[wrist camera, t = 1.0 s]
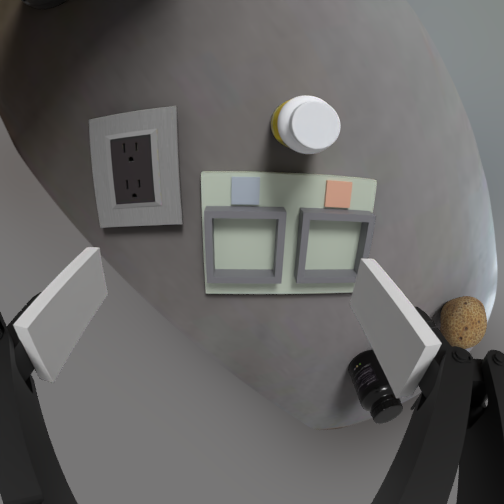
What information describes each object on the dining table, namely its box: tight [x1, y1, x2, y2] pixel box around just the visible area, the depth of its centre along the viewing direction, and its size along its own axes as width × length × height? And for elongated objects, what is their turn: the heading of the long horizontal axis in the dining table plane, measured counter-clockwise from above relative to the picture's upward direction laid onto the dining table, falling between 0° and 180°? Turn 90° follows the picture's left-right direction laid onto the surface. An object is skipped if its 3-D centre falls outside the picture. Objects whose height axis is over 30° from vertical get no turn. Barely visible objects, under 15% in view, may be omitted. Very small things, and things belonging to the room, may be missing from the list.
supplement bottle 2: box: [349, 350, 403, 423], centre depth 39 cm, size 7×7×12 cm
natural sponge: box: [440, 296, 487, 349], centre depth 36 cm, size 9×9×10 cm
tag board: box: [201, 171, 377, 294], centre depth 33 cm, size 15×20×3 cm
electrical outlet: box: [89, 106, 183, 228], centre depth 30 cm, size 13×10×2 cm
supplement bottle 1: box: [271, 96, 340, 154], centre depth 25 cm, size 5×5×10 cm
